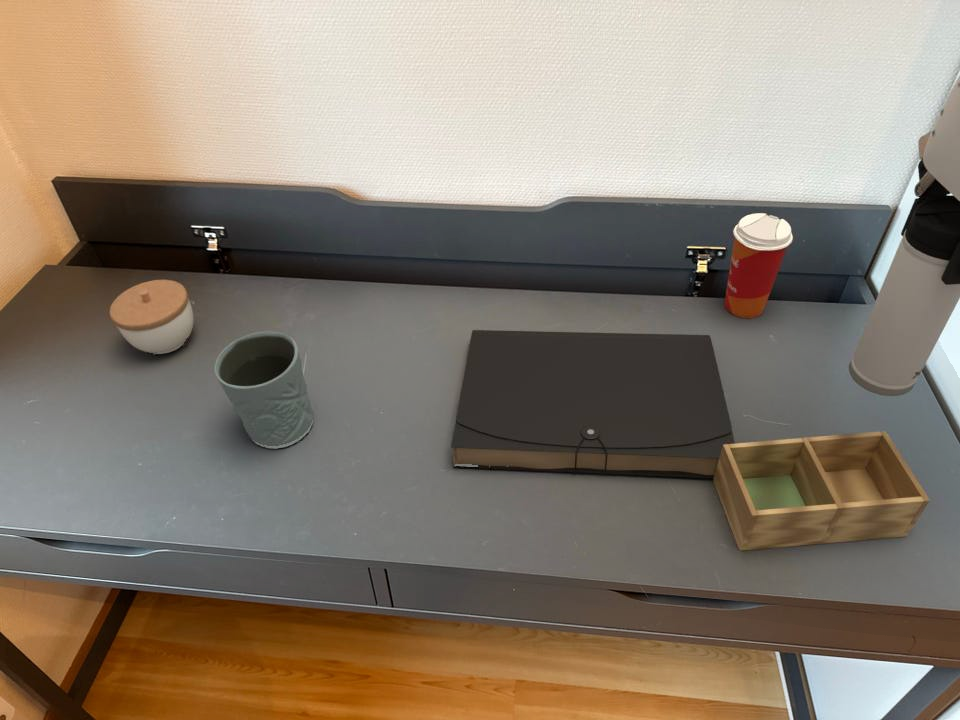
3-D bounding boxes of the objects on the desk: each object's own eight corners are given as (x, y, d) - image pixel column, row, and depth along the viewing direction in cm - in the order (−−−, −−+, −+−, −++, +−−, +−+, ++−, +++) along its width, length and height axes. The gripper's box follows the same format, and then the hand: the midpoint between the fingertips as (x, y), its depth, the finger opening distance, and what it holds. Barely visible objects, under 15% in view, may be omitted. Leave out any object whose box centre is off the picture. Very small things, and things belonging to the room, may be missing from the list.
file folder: (450, 446, 83) (473, 322, 101) (453, 469, 86) (474, 344, 104) (739, 458, 79) (709, 327, 97) (733, 481, 82) (704, 350, 100)
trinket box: (166, 312, 112) (144, 263, 105) (218, 328, 108) (198, 279, 102) (114, 354, 105) (87, 305, 99) (168, 373, 101) (143, 324, 95)
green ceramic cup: (276, 466, 88) (249, 400, 79) (226, 431, 92) (195, 365, 84) (335, 416, 93) (315, 349, 85) (284, 386, 98) (261, 320, 90)
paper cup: (731, 284, 109) (749, 205, 100) (779, 302, 105) (803, 222, 96) (707, 310, 105) (725, 230, 95) (757, 330, 101) (780, 249, 92)
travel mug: (927, 397, 71) (1021, 227, 57) (860, 398, 71) (936, 229, 58) (902, 354, 75) (983, 187, 62) (839, 356, 76) (905, 190, 62)
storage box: (866, 467, 83) (885, 430, 78) (906, 536, 76) (930, 500, 71) (712, 480, 82) (722, 444, 78) (739, 551, 76) (752, 515, 71)
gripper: (1179, 98, 45) (1040, 316, 57) (1014, 11, 57) (929, 205, 69) (1061, 107, 45) (948, 323, 57) (922, 18, 57) (854, 210, 69)
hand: (938, 256), depth 63 cm, fingers closed on travel mug, 6 cm apart
